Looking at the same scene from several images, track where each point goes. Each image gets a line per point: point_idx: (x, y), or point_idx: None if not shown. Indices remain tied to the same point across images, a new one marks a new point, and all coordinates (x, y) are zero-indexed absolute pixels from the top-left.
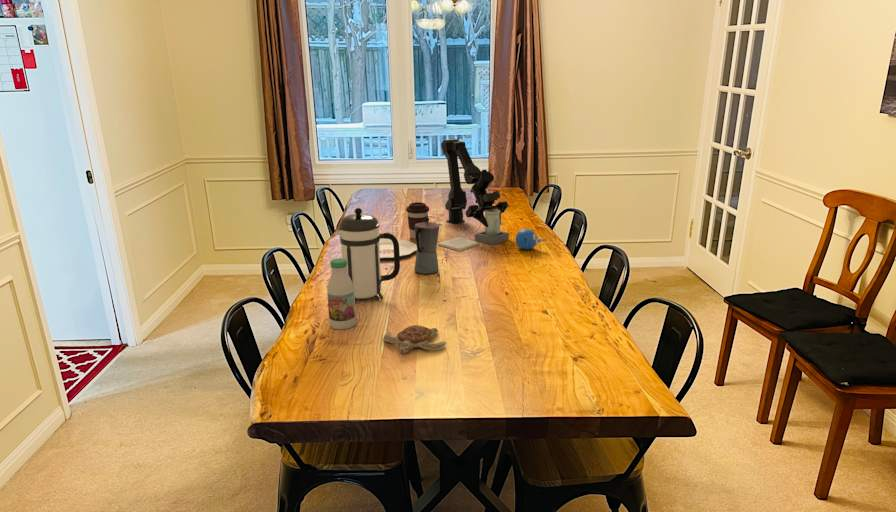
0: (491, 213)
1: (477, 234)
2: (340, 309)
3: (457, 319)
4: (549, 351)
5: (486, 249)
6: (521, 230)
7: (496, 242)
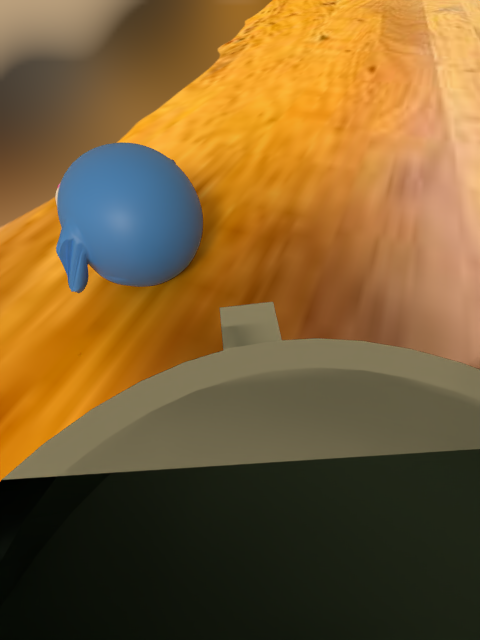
0: (476, 400)
1: None
2: None
3: (476, 38)
4: (354, 8)
5: (366, 317)
6: (145, 166)
7: None
